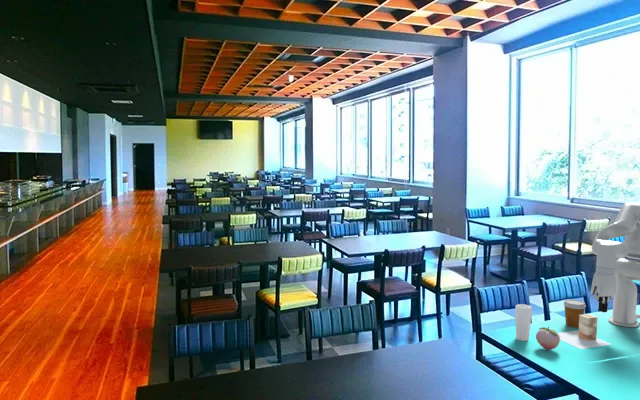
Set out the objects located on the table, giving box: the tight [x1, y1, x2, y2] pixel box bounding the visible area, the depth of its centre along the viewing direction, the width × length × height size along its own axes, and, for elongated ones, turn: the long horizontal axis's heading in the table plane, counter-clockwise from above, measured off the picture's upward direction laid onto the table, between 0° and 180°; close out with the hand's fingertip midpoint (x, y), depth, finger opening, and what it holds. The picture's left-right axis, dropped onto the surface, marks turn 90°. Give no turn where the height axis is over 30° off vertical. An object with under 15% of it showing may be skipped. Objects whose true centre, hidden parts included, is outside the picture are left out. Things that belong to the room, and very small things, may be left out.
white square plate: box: [557, 329, 612, 350], centre depth 222 cm, size 17×18×1 cm
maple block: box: [578, 313, 598, 341], centre depth 223 cm, size 5×5×10 cm
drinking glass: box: [514, 303, 533, 342], centre depth 222 cm, size 7×7×15 cm
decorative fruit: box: [535, 326, 561, 351], centre depth 211 cm, size 9×8×10 cm
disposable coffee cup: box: [563, 298, 587, 329], centre depth 239 cm, size 10×10×12 cm
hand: (602, 311), depth 224 cm, fingers closed
